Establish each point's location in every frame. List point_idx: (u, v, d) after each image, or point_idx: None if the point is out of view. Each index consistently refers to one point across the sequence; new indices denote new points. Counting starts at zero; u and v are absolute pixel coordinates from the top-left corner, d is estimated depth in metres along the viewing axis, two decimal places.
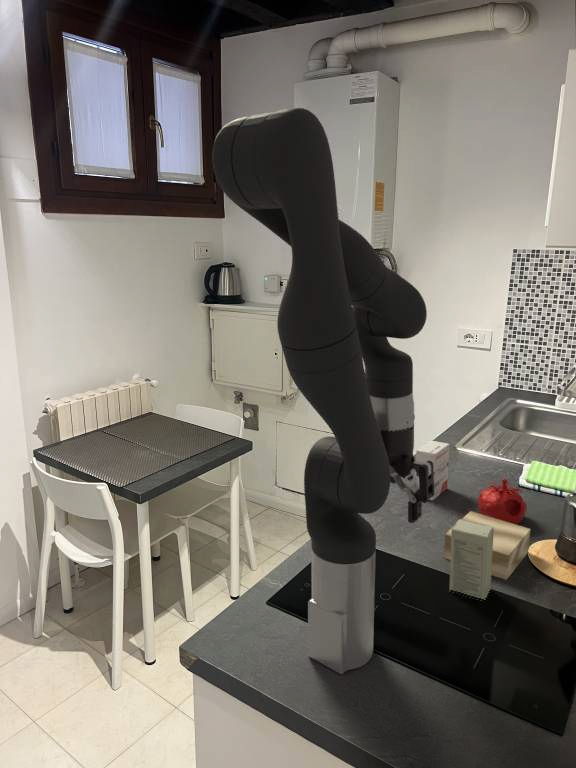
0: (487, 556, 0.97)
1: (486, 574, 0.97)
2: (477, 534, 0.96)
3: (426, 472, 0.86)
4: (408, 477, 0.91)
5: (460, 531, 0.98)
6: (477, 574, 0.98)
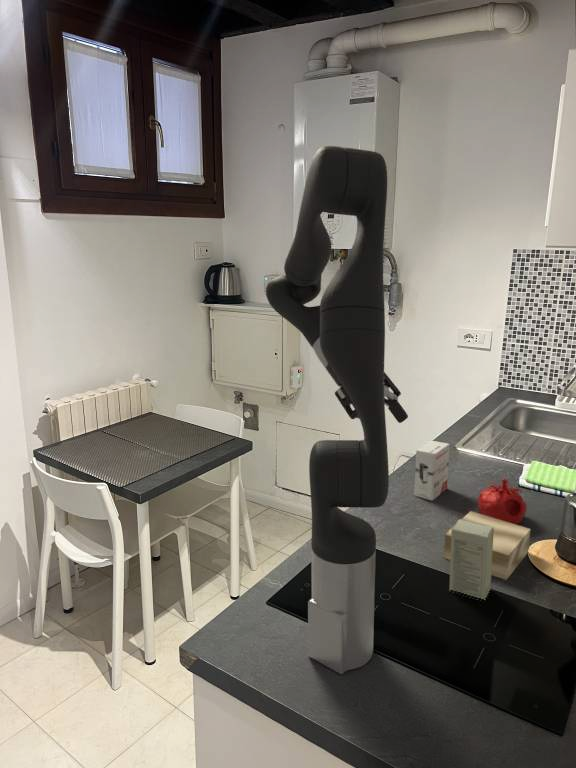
0: (487, 556, 0.97)
1: (486, 574, 0.97)
2: (477, 534, 0.96)
3: None
4: None
5: (460, 531, 0.98)
6: (477, 574, 0.98)
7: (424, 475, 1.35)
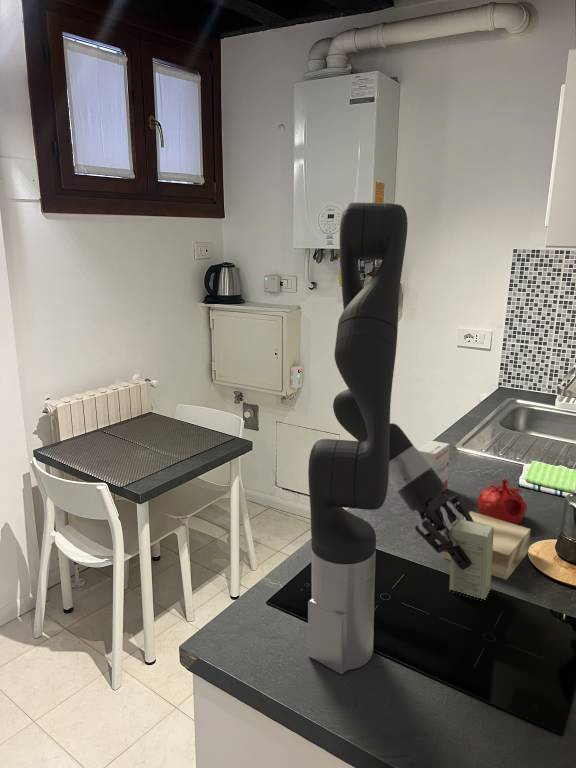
0: (487, 556, 0.97)
1: (486, 574, 0.97)
2: (477, 534, 0.96)
3: (460, 499, 1.06)
4: None
5: (460, 531, 0.98)
6: (477, 574, 0.98)
7: None
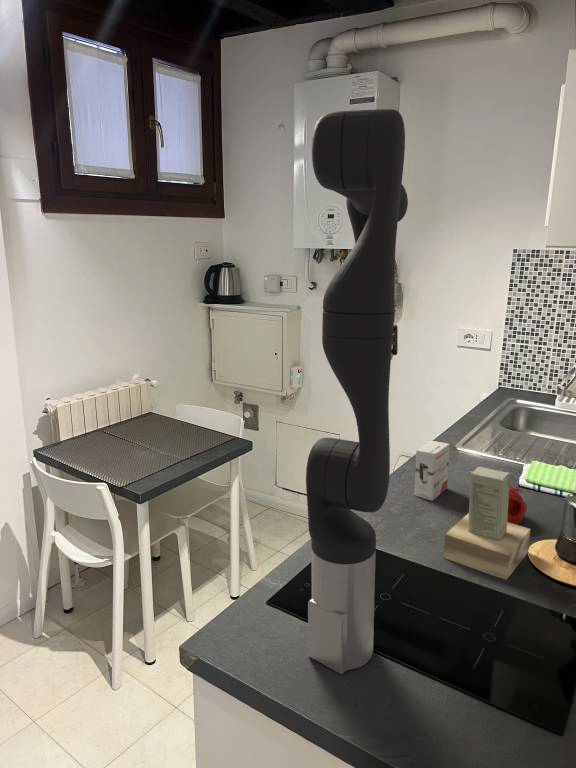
0: (502, 498, 1.06)
1: (501, 515, 1.07)
2: (494, 477, 1.06)
3: None
4: None
5: (478, 475, 1.07)
6: (493, 515, 1.07)
7: (424, 475, 1.35)
